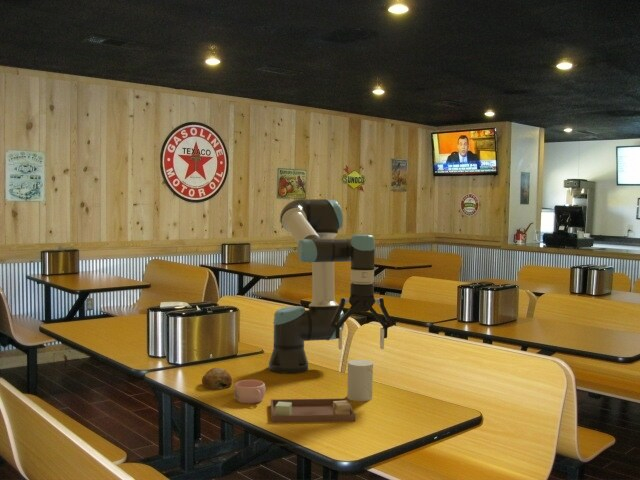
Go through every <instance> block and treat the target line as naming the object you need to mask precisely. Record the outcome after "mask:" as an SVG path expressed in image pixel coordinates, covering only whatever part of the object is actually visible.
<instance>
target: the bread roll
mask: <svg viewBox="0 0 640 480" xmlns="http://www.w3.org/2000/svg"><path fill="white" fill-rule="evenodd" d="M232 379H233V378H232V376H231V374H230V373H229V372H228V371H227V370H226V369H225V368H221V367H214V368H213V367H212V368H211V369H208V370H207V372H205V373H204V374H203V376H202V378H201V385H202V386H203V387H204V389H210V390H222V389H223V390H224V389H227V388H230V387H231V386H232V383H233V380H232Z"/></svg>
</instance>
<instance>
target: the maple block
mask: <svg viewBox="0 0 640 480" xmlns="http://www.w3.org/2000/svg"><path fill="white" fill-rule="evenodd" d="M350 404H351V403H350ZM350 404H349V403H348V402H347V401H346V400H344V401H333V414H350Z"/></svg>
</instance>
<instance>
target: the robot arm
mask: <svg viewBox="0 0 640 480" xmlns="http://www.w3.org/2000/svg"><path fill="white" fill-rule="evenodd" d="M279 220H280V224H281V226H282V228H283V229H284V230H285V231H287V233H288V232H289V233H290V234H291V236H292V237H293V239H294V241H295V242H296V243H297V250H296V251H297V253H296V254H297V258H298V260H299V261H300V262H303V263H309V264H311V266H312V267H311V268H312V269H311V270H312V273H311V274H312V275H311V277H312V285H311V286H312V301H311V302H310V303H309V304H308V309H305V307H304V306H301V305H296V306H295V305H294V306H285V307H281V308H279V309H277V310H276V311H274V315H273V347H272V348H273V349H272V352H271V355H270V358H269V361H268V370H269V371H271V372H274V373H278V374H299V373H304V372H307V371H308V370H309V361H308V357H307V354H306V351H305V342H306V341H307V342H310V341H312V342H313V341H333V340H338V344H337V345H338V350H342V349H343V330H344V327H345V322H347V320H348V319H349V317H351V316H352V315H353V314H354V313H355V312H356V313H361V312H364V313H367V312H370V313H371V314H372V315H373V316H374V317H375V319H376V320H377V321H378V323H379V324H380V325H381V326H382V327H379V328H380V330H379V332H380V333H379V336H380V337H379V348H380V350H384V349H385V339H387V338H388V329H389V328H391V327H393V326H394V323H393V321H392V318H391V317H390V315H389V313H388V311H387V308H386V306H385V301H384V298H383V297H381V296H379V297H378V298H375V284H374V282H375V255H376V254H375V253H376V252H375V250H376V242H375V236H374V235H373V234H353V235H352V236H351V238H346V239H344V238H343V239H342V238H340V239H337V236H338V234H339V230H341V229H342V228H343V223H344V215H343V210H342V207H341V205H340V203H339V202H338V201H337V200H334V199H326V198H325V199H312V198H311V199H308V198H307V199H304V198H299V199H294V200H292V201H290V202H289V203H287V204H286V205H285V206H284V207H283V208H282V210H281V211H280V217H279ZM335 238H336V239H335ZM335 263H350V282H351V283H350V291H349V293H350V294H349V295H350V296H349V298H346V297H344V296H341V297H340V301H339V303H338V302H337V301H336V299H335V297H336V294H335V293H336V291H335V290H336V288H335V284H336V283H335V280H336V279H335ZM348 303H349V304H350V307H349V308H348V309H347V310H346V312H345V313H344V311H343V310H344V308H345V306H346V305H347V304H348ZM375 304H377V305H378V306H379V308H380V310H381V312H382V315H383V316H384V319H385V320H386V322H385V320H383V318H382V317H381V316H380V314H378V312H377V311H376V310H375V309H374V307H373V306H374V305H375Z"/></svg>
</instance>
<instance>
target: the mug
mask: <svg viewBox="0 0 640 480" xmlns="http://www.w3.org/2000/svg"><path fill="white" fill-rule="evenodd" d="M266 390H267V389H266V384H265V382H263V381H262V380H257V379H244V380H243V379H242V380H238V381H237V382H235V383H234V386H233V393H234V397H235V400H236V401H237V402H238V403H241V404H247V405H248V404H257V403H261V402H262V401H263V400H264V396H265V395H266Z"/></svg>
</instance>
